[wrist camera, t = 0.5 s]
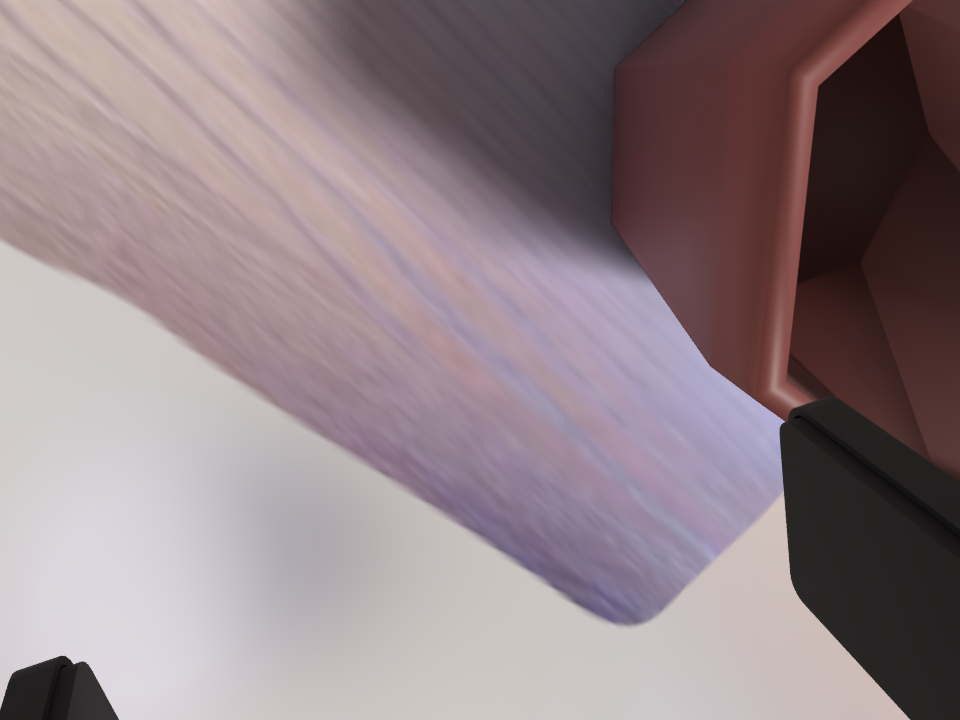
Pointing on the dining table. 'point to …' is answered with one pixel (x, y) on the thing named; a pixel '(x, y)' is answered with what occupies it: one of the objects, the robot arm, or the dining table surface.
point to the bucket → (805, 201)
